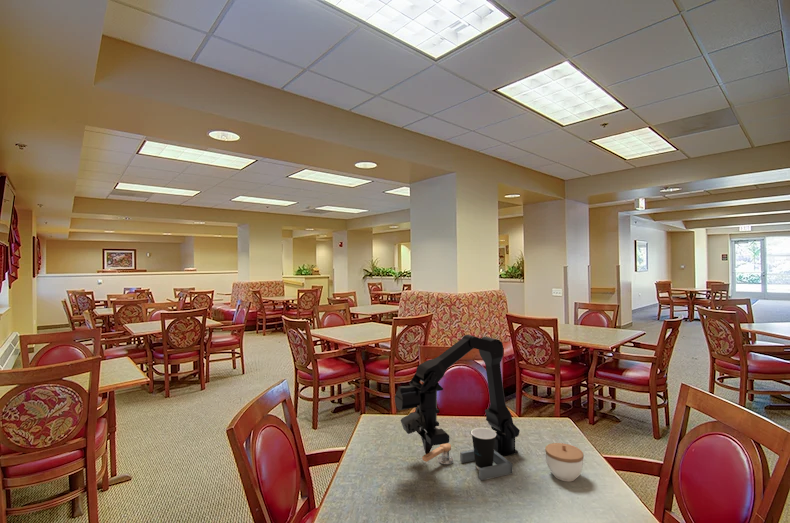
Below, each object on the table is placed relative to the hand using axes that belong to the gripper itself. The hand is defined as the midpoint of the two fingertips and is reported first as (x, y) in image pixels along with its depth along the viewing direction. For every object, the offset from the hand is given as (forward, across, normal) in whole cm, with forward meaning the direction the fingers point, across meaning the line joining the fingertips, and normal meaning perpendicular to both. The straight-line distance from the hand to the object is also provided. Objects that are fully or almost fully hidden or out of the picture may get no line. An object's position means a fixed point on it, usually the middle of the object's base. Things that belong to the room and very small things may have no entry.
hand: (427, 453), depth 124 cm
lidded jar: (+4, +19, +37) cm, 42 cm away
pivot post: (+5, -2, +8) cm, 9 cm away
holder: (+4, +6, +17) cm, 19 cm away
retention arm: (+1, 0, +4) cm, 4 cm away
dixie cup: (+5, +6, +17) cm, 19 cm away
